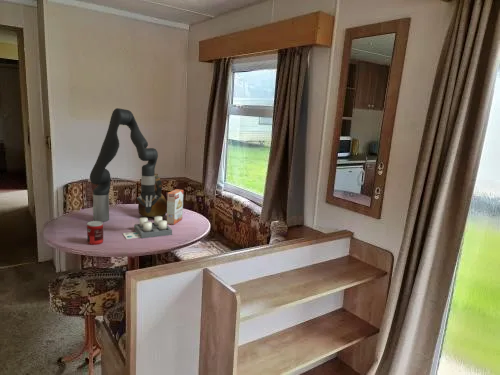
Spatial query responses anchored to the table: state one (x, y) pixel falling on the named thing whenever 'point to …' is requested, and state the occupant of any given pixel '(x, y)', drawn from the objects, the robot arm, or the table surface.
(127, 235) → the card
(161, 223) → the button
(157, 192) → the ceramic pitcher
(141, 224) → the button
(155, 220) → the button
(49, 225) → the table surface
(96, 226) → the canned food
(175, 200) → the cracker box
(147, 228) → the button
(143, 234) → the board
